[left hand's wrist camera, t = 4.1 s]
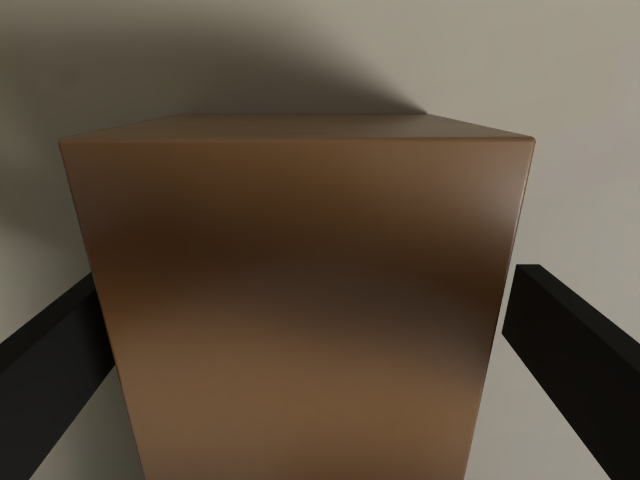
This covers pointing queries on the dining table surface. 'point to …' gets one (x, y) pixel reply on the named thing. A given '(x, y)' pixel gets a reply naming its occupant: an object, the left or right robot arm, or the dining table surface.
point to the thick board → (300, 287)
